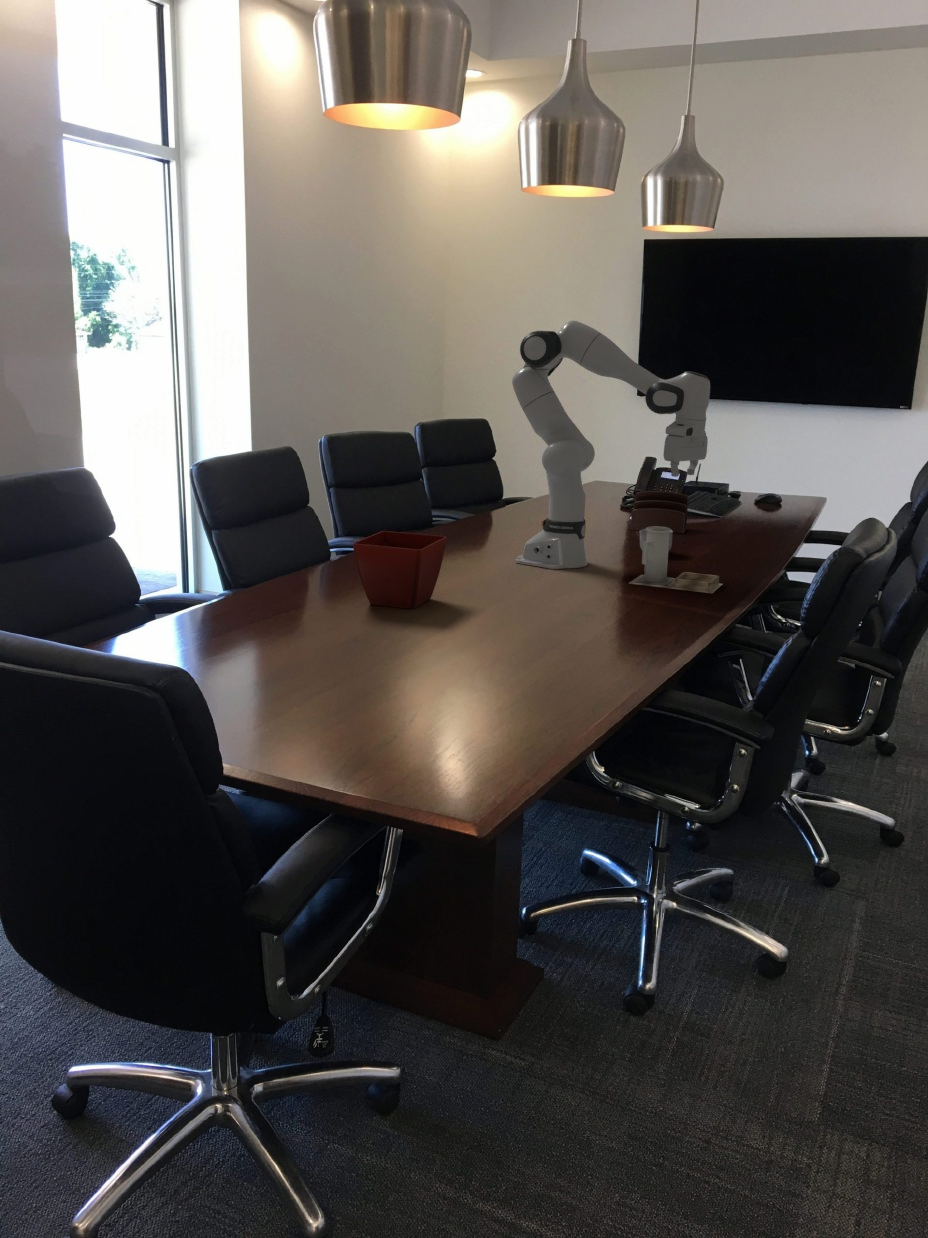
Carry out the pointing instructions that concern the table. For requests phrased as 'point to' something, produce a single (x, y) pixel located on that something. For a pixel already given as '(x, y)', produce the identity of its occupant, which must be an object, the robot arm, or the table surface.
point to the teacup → (643, 538)
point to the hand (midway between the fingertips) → (682, 475)
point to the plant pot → (399, 567)
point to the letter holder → (660, 510)
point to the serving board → (685, 582)
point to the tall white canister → (656, 554)
